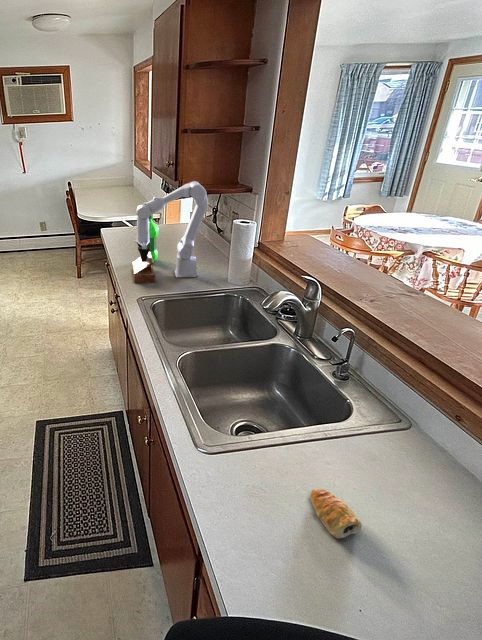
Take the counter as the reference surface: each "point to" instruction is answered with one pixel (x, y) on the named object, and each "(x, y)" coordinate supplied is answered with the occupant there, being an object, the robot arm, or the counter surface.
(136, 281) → the brown wooden box
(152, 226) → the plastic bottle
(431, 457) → the counter surface
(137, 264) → the lid
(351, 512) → the pastry
